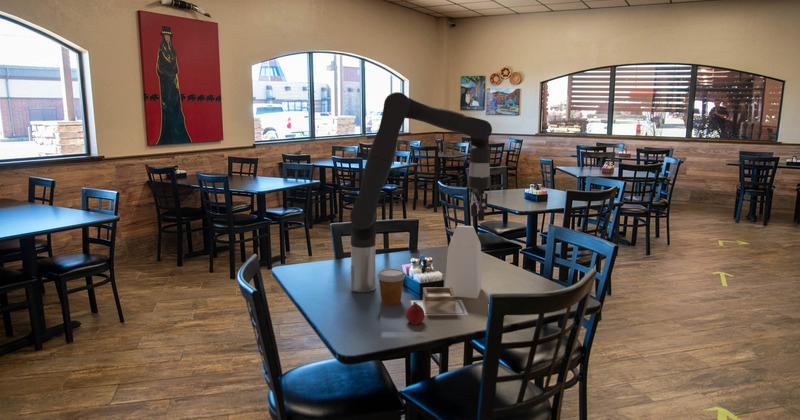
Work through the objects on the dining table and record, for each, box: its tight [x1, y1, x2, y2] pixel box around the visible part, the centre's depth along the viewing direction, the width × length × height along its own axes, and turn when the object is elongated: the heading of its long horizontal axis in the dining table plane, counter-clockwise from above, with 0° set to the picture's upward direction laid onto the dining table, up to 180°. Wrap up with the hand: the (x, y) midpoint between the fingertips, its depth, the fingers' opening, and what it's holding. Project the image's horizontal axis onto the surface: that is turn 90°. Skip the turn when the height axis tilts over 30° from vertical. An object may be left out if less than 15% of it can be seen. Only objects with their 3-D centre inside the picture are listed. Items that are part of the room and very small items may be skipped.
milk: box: [444, 225, 482, 299], centre depth 202 cm, size 12×12×26 cm
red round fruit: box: [405, 302, 425, 326], centre depth 174 cm, size 6×6×8 cm
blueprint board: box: [410, 299, 469, 316], centre depth 188 cm, size 18×14×1 cm
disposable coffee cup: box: [377, 268, 406, 306], centre depth 192 cm, size 10×10×12 cm
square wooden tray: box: [422, 286, 457, 313], centre depth 187 cm, size 10×10×6 cm
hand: (477, 218), depth 205 cm, fingers open, 8 cm apart
